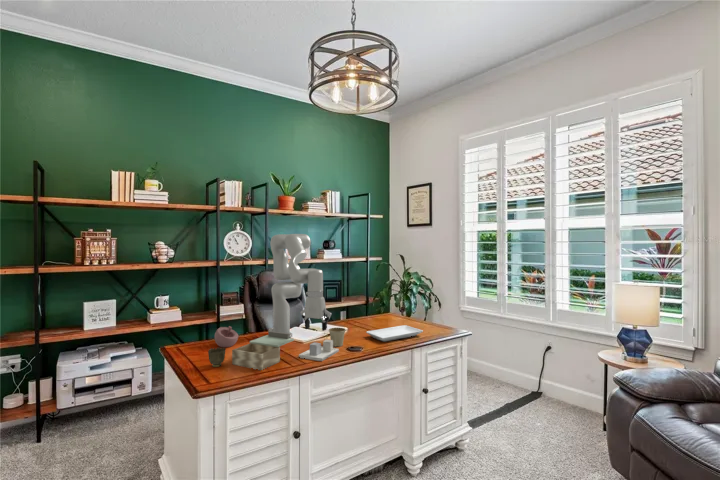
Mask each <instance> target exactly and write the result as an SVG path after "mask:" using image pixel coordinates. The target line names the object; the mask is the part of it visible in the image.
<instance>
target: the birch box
mask: <svg viewBox="0 0 720 480" xmlns="http://www.w3.org/2000/svg"><path fill="white" fill-rule="evenodd" d="M231 350H232V351H231V365H234V366H239V367H244V368H248V369H251V368H253V369H252V370H256V369H258V370H257V371H261V370H262V371H264V370H266V369H268V368H271V367H272V366H274V365H276V364H278V363H280V362H281V346H280V347H273V346H266V345H260V344H253V343H247V344H245V345H242V346H239V347H237V348H234V349H231ZM267 367H268V368H267ZM265 368H266V369H265ZM263 369H264V370H263Z"/></svg>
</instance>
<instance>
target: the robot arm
mask: <svg viewBox="0 0 720 480" xmlns="http://www.w3.org/2000/svg"><path fill="white" fill-rule="evenodd" d="M311 243H312V242H311V238H310V236H309V235H308V234H306V233H291V234H290V233H289V234H287V233H286V234H284V233H283V234H281V233H279V234H274V235H273V236H272V237H271V239H270V249H271V253H272V258H273V259H272V261H273V277H274V279H275V280H277V281H282V282H276V283H274V284H273V285H272V286H271V297H272V312H273V313H272V321H273V322H272V326H273V327H269V328H268V332H269V331H274V332H282V333H289V334H290V338H291V336H292V337H293V333H292V332H290V331H291V330H290V329H291V328H290V327H291V325H290V324H291V322H290V321H291V318H290V317H291V315H290V313H291V312H290V311H291V310H290V309H291V306H290V303H289V301H287V300H286V299H295V298H299V297H300V296H301V294H302V284H303V285H304V284H307V291H306V292H305V295H307V297H306V298H305V302H304V309H302V310H301V311H300V315H301V318H302V319H303V321H304V329H305V330H308V329H310V328H311V326H310V325H311V323H310V322H311V320H310V319H316V320H317V319H319V320H321V321H322V323H321V331H326V330H327V329H328V321H329V320H330V319H331V316H332V312H330V311H328V310H327V306H326V300H325V297H324V272H323V270H322V269H317V268H314V267H313V268H301V267H300V265H298V264H300V263H301V262H302V261H304V260H305V259H306V258H307V255H308V253H307V251H306V250H307V249H309V248H310V246H311ZM286 250H287V252H288V253H289V255H288V253H287V252H286ZM288 256H290V259H289V257H288ZM289 280H291V281H289ZM283 281H284V282H283Z"/></svg>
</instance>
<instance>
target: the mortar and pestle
mask: <svg viewBox="0 0 720 480" xmlns="http://www.w3.org/2000/svg"><path fill="white" fill-rule="evenodd" d="M232 328H233V327H232V326H230V325H229V326H228V327H227V326H220V327H219V328H217V329H216V330H215V333H214V342H215V344H217V346H218V347H220V348H222V347H223V348H231V347H233V346H234V345H235V344H236V343H237V342H238V339H239V334H238V332H237V331H235V330H234V329H232Z"/></svg>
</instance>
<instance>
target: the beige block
mask: <svg viewBox="0 0 720 480" xmlns="http://www.w3.org/2000/svg"><path fill="white" fill-rule="evenodd" d="M322 347H323V352H331V351H332V350H333V348H334V346H333V340H331V339H324V340H323V342H322Z"/></svg>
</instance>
